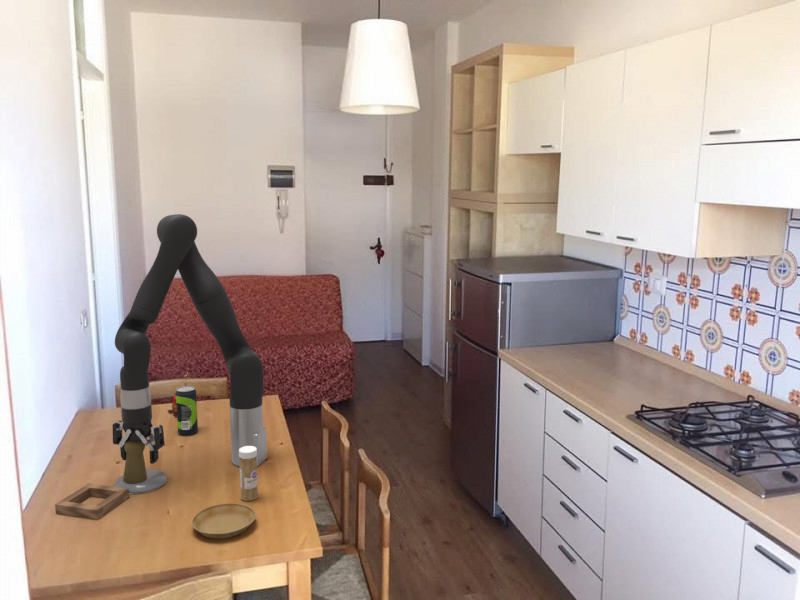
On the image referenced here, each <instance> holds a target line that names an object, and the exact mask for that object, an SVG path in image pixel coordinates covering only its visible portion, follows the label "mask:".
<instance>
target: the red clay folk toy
mask: <svg viewBox="0 0 800 600" xmlns="http://www.w3.org/2000/svg"><path fill="white" fill-rule="evenodd" d="M189 373H190V372H189V371H187V373H186V374H184V375H183V377H184V378H185V381H184V386H187V379H188V377H189V376H190V374H189ZM172 400H173V401H172V405H171V407H172V408H171V410H172V415H174V417H176V418H177V407H176V392H175V394H174V397H173V399H172Z"/></svg>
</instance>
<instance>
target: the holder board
mask: <svg viewBox="0 0 800 600" xmlns="http://www.w3.org/2000/svg"><path fill="white" fill-rule="evenodd" d="M93 496H94V497H95V498H100V497H102V498H101V499H103V500H102V501H100V502H98V503H97V504H96V505H94V504H87V503H83V502H84V501H86V500H87V499H90V497H93ZM103 497H104V498H103ZM128 497H129V498H130V494H129V489H127V488H120V487H115V486H112V485H111V486H109V485H106V484H105V485H103V484H95V483H89V482H88V483H87V484H86V485H84V486H83V487H81V488H79V489H77V490H75V491H74V492H72V493H71V494H69V495H68V496H66V497H65V498H63V499H62V500H59V501H58V502H56V503H55V504H54V507H55V514H57V515H65V516H71V517H76V518H77V517H78V518H85V519H90V520H97V521H99V520H100V519H101V518H102V517H104V516H106V515H107V514H109V512H111V511H112V510H114V509H115V508H117V507H118V506H120V503H121V502H122V503H123V502H125V501H126V500H127V499H126V498H128ZM129 498H128V499H129ZM125 499H126V500H125ZM124 500H125V501H124ZM122 503H121V504H122ZM117 505H118V506H117ZM114 507H115V508H114ZM113 508H114V509H113Z"/></svg>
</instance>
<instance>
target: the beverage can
mask: <svg viewBox="0 0 800 600" xmlns="http://www.w3.org/2000/svg"><path fill="white" fill-rule="evenodd" d="M175 393H176V407H177V417H176V422H177V423H176V424H177V425H176V426H177V433H178V434H179V435H180V436H186V437H187V436H193V435H195V434H196V433H197V432H198V429H199V428H198V426H199V425H198V407H197V405H198V404H197V401H198V400H197V390H196V387H195V386H193V385H186V386H185V385H183V386H178V387H176V392H175Z"/></svg>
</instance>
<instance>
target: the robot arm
mask: <svg viewBox="0 0 800 600" xmlns="http://www.w3.org/2000/svg"><path fill="white" fill-rule="evenodd" d="M156 235H157V238H158V241H159V243H160V245H159V249H158V252H157V255H156V257H155V259H154V262H153V264H152V265H151V267H150V269H149V271H148V272H147V274H146V275H145V277H144V278H143V280H142V282H141V285H140V287H139V289H138V290H137V293H136V295H135V297H134V299H133V303H132V305H131V309H130V310H129V312H128V314H127V315H126V316H125V318H124V320H123V321H122V322H121V324H120V326H119V327H118V329H117V332H116V334H115V338H114V346H115V348H116V350H117V352H120V353H121V354H123V366H122V367H121V368H120V371H119V377H120V378H119V380H120V381H119V382H120V383H119V384H120V409H121V410H120V412H121V413H120V414H121V420H118V421H116V422H114V423H113V424H112V443H113V445H117V446H118V447H119V449H120V450H119V451H120V457H121V459H122V461H126V454H127V453H126V452H125V449H124V445H125V443H126V442H127V441H128V440H130V439H131V440H133V441H134V440H137V441H142V442H143V443H144V444H145V446H146V447H148V449H149V463H150V464H151V465H152V464H153V465H154V464H155V463H157V462H158V460H159V457H160V456H159V450H160V449H162V448H163V447H165V445H166V443H165V441H166V440H165V435H164V426H163V425H162V424H159V425H153V424H152V419H153V412H152V411H153V409H152V408H153V407H152V395H151V389H150V388H151V387H150V380H149V379H150V378H149V377H150V375H149V367H150V362H151V361H150V360H151V355H152V354H151V352H152V350H151V349H152V347H151V342H150V339H149V337H148V336H147V334H146V333H147V332H146V331H147V329H148V328H149V326H150V325H153V324H154V323H156V321H157V320H158V318H159V315H160V313H161V310H162V307H163V305H164V303H165V300H166V297H167V295H168V293H169V290H170V287H171V285H172V282H173V280H174V278H175V276H176V274H177V272H179V275H180V278H181V280H182V282H183V285H184V286H185V289H186V291H187V293H188V296H189V297H190V299H191V301H192V303H193V305H194V307H195V309H196V311H197V313H198V315H199V317H200V318H201V320H202V322H203V323H204V325H205V326H206V328H207V329H208V331H209V332H210V333H211V334H212V336H213V337H214V339H215V341H216V342H217V344H218V347H219V349H220V351H221V353H222V356H223V359H224V361H225V362H224V363H225V364H226V369H227V370H228V373H229V380H230V381H229V382H230V384H229V385H230V395H229V421H230V422H229V423H230V446H231V447H230V448H231V449H230V450H231V462H232V464H233V465H234V466H237V467H240V458H239V449H240V448H242V447H244V446H254V447H256V448H257V457H256V460H257V467H258V466H260V465H261V464H262V463H263V462H264V461H265V460H267V458H268V454H267V453H268V450H267V428H266V427H265V426H264V415H263V412H264V411H263V397H264V389H265V388H264V366H263V361H262V360H261V359H260V357H259V355H258V354H257V353H256V351H254V349H253V348H252V347H251V345H250V344H249V342H248V340H247V339H246V337H245V335H244V334H243V332H242V330H241V327H240V325H239V322H238V318H237V316H236V312H235V309H234V306H233V304H232V301H231V299H230V297H229V296H228V294H227V292H226V289H225V287H224V286H223V283H222V282H221V280H220V279H219V278H218V276H217V275H216V274H215V273H214V271H213V270H212V269H211V267H210V266H209V265H208V264H207V262H206V261H205V260H204V259H203V258H204V257H202V255H201V253H200V251H199V248H198V247H197V244H196V239H197V237H198V227H197V224H196V223H195V221H194V219H192V218H191V217H190V216H189V215H186V214H180V213H179V214H178V213H177V214H170V215H166V216H164V217H163V218H161V219H160V220H159V222H158V224H157V226H156ZM123 432H124V435H123Z"/></svg>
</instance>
